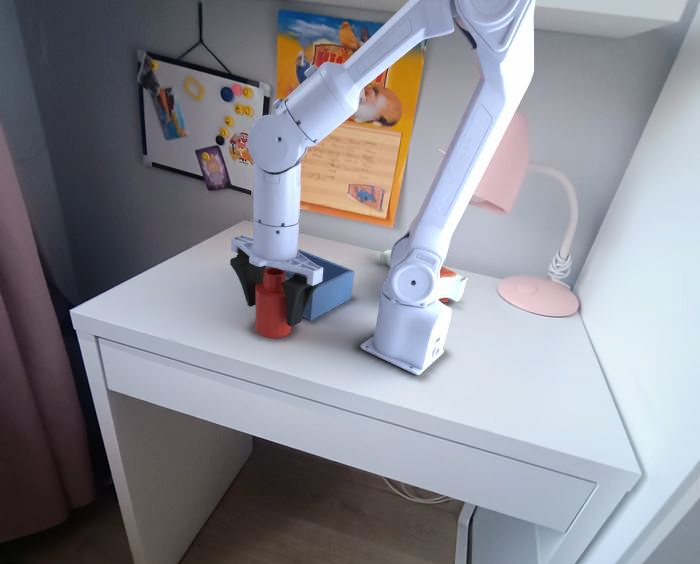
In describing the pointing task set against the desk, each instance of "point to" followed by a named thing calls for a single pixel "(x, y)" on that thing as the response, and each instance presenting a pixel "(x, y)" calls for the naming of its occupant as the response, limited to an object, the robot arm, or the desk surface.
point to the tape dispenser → (448, 285)
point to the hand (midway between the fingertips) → (273, 313)
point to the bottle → (271, 305)
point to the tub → (327, 287)
